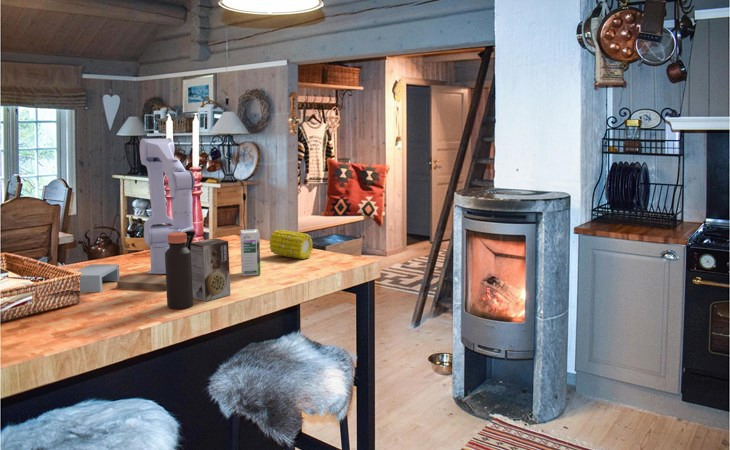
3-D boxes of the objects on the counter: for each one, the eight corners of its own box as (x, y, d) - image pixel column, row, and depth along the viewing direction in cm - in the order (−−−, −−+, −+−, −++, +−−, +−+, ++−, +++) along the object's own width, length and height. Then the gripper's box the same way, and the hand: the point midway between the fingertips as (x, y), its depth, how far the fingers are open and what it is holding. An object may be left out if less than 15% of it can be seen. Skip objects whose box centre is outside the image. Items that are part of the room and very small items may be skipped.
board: (179, 285, 201) (178, 277, 200) (167, 292, 193) (166, 284, 193) (131, 283, 204) (130, 275, 203) (117, 289, 196) (117, 281, 195)
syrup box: (242, 276, 211) (241, 232, 209) (241, 272, 217) (240, 229, 214) (260, 275, 212) (259, 231, 210) (258, 271, 218) (257, 228, 216)
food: (317, 257, 240) (317, 230, 238) (295, 263, 231) (294, 235, 229) (288, 252, 249) (287, 226, 248) (265, 257, 240) (264, 230, 238)
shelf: (119, 279, 206) (118, 264, 205) (100, 292, 191) (99, 275, 190) (91, 279, 206) (90, 264, 205) (70, 291, 191) (68, 275, 191)
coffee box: (217, 291, 192) (215, 237, 190) (231, 295, 188) (229, 240, 186) (191, 297, 185) (189, 242, 183) (205, 301, 181) (203, 245, 179)
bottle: (162, 306, 177) (158, 234, 173) (183, 301, 182) (179, 230, 179) (177, 311, 172) (174, 237, 169) (198, 305, 178) (195, 233, 175)
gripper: (174, 208, 200) (176, 252, 202) (162, 215, 186) (164, 262, 188) (197, 208, 201) (199, 251, 203) (187, 215, 186) (189, 261, 188)
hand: (184, 256), depth 195 cm, fingers open, 5 cm apart
